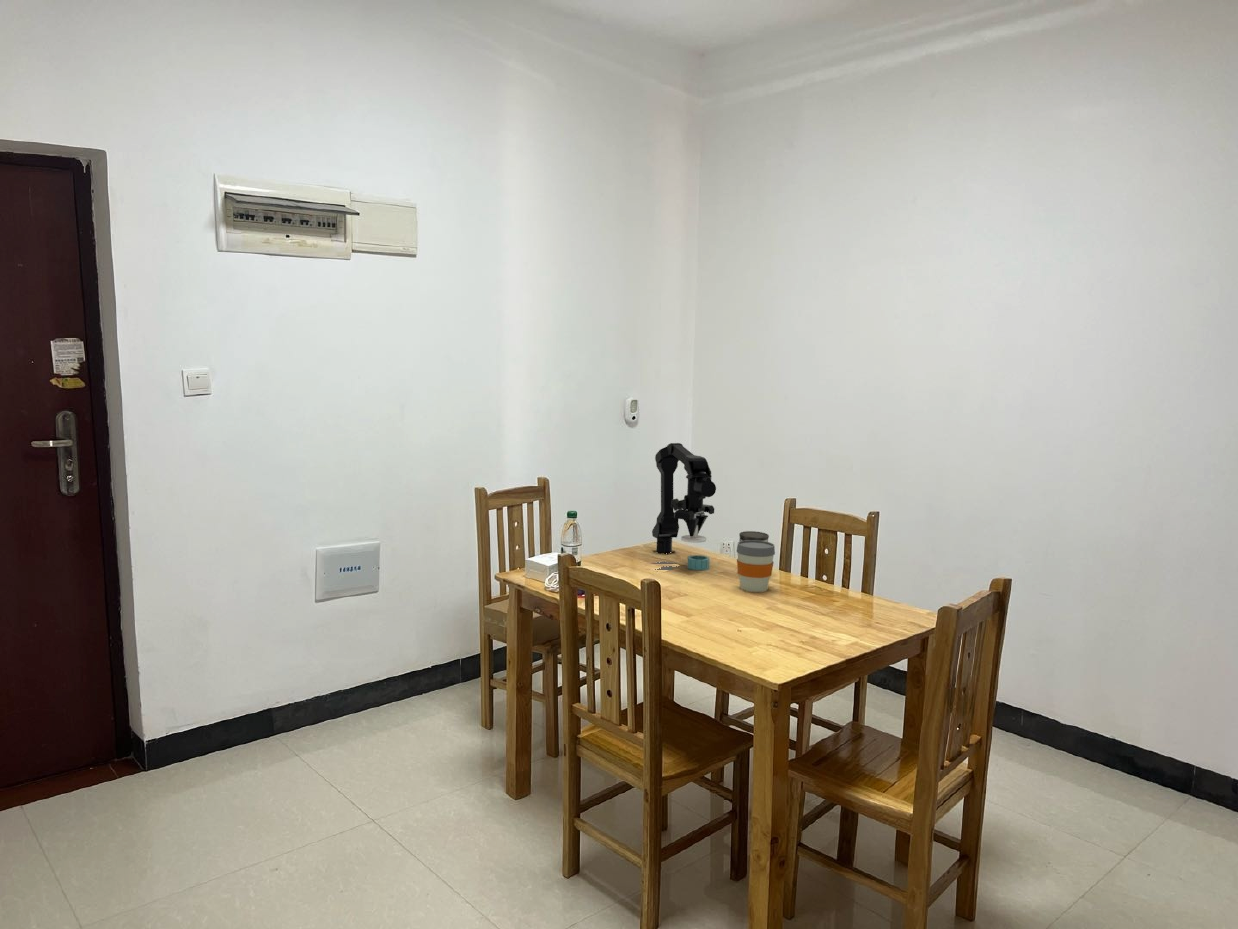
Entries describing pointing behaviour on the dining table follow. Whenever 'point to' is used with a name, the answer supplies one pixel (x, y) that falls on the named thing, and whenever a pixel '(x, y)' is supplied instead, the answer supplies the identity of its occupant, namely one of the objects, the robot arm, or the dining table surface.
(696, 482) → the robot arm
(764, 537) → the coffee can
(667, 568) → the mat
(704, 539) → the lid
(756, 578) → the reusable coffee cup
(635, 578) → the dining table surface
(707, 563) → the bowl
